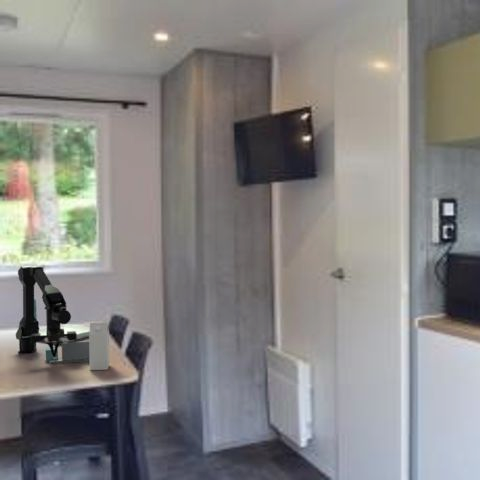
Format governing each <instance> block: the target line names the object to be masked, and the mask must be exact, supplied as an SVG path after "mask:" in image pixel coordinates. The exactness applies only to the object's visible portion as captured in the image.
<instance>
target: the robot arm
mask: <svg viewBox="0 0 480 480" xmlns="http://www.w3.org/2000/svg"><path fill="white" fill-rule="evenodd" d="M17 275H18V279H19V282H20V283H21V286H22V307H23V308H22V317H21V319H20V321H19V322H18V323H19V324H18V328H17V331H16V333H15V338H16V340H18V343H19V344H18V345H19V348H18V349H19V350H18V351H17V353H18V354H21V353H22V354H23V353H24V354H31V353H34V352H35V351H37V350H38V348H37V343H40V342H41V341H44V340H45V341H44V344H46V345H48V348H49V347H50V349H51V352H52V355H53V357H55V356H56V353H57V349H58V350H59V347H60V344H62V343H63V338H67V339H68V340H73V341H76V340H78V339H77V334H76V332H75V331H69V332H67V334H64V329H61V325H64V324H67V325H68V323H70V321H71V318H72V315H71V313H70V311H68V310H67V306H68V305H67V302H66V300H65V298H64V295H63V293H62V292H61V291H60V290H59V288H57V287H55V286H53V284H52V282H51V281H50V279H49V278H48V276H47V274H46V273H45V271H44V267H43V266H41V265H27V266H20V268H18V270H17ZM36 284H37V286H38V287H39V289H40V291H41V292H42V296H41V298H42V302H43V304H44V310H45V311H46V312H45V314H46V315H45V317H46V320H45V321H46V328H47V331H46V334H47V335H41V334H40V333H39V329H40V326H39V325H40V324H39V323H40V321H38V319H37V320H36V319H35V317H34V299H35V286H36ZM53 341H55V342H53ZM54 344H55V345H54ZM53 347H55V350H54V348H53Z"/></svg>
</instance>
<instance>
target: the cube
mask: <svg viewBox="0 0 480 480" xmlns="http://www.w3.org/2000/svg"><path fill="white" fill-rule="evenodd" d="M53 348H54V350H55V346H53ZM58 351H59V348H58V349H57V353H56V356H55V357H53V355H52V352H51V349H50V347H49V346H48V347H45V362H49V360H50V359H59V352H58Z"/></svg>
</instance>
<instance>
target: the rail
mask: <svg viewBox="0 0 480 480" xmlns="http://www.w3.org/2000/svg"><path fill="white" fill-rule="evenodd" d="M48 362H49V365H57V364H58V365H59V364H70V363H71V364H72V363H80V362H81V363H83V362H84V363H85V362H90V361H89V357H88V358H76V359H63V360H62V358H58V359H50V360H49V361H48Z"/></svg>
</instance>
